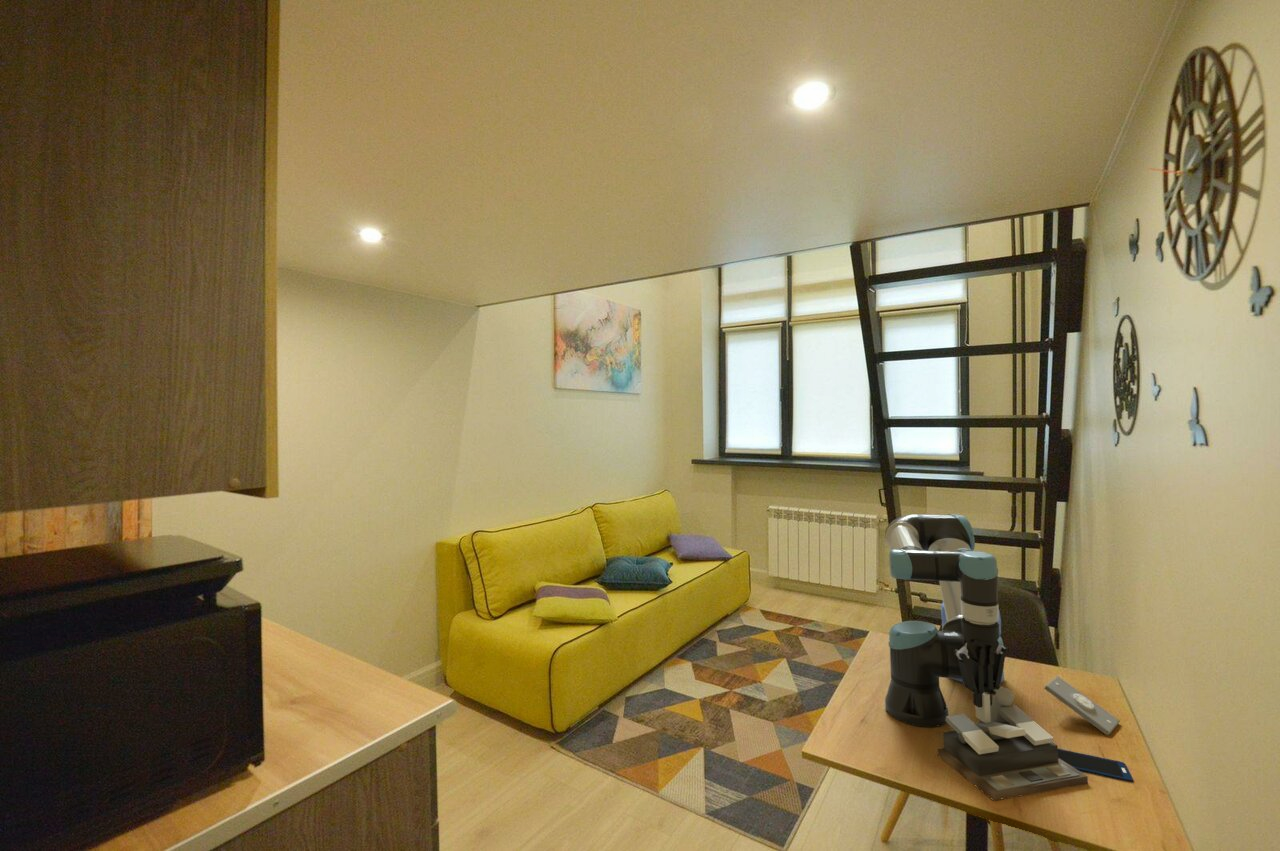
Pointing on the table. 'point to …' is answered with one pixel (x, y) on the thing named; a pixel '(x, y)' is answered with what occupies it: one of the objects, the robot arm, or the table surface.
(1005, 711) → the right rocker
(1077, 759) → the cell phone
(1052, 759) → the switch console
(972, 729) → the left rocker
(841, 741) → the table surface
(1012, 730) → the middle rocker
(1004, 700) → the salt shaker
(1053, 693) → the light switch
